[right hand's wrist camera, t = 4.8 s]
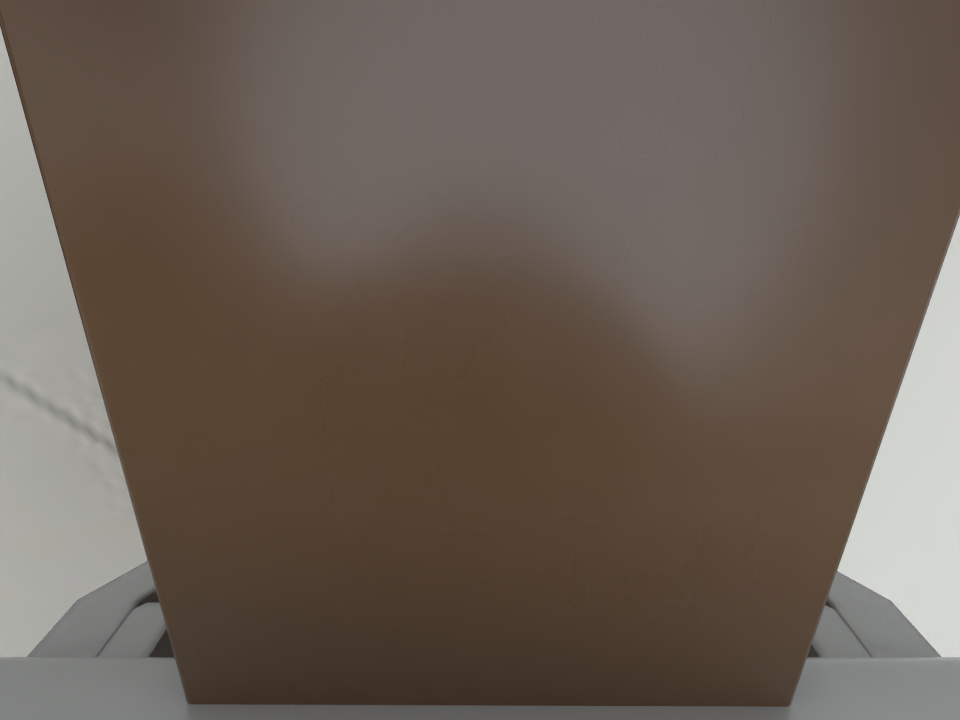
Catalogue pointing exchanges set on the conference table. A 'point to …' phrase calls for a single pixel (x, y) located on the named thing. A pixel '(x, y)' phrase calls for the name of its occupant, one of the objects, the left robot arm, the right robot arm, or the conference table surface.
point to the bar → (495, 324)
